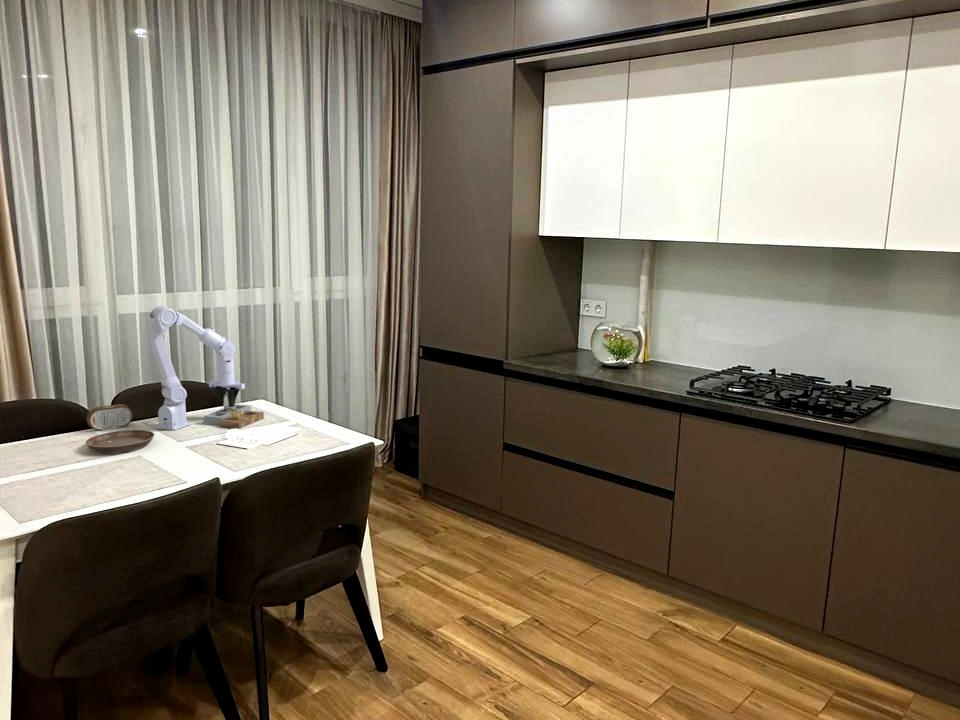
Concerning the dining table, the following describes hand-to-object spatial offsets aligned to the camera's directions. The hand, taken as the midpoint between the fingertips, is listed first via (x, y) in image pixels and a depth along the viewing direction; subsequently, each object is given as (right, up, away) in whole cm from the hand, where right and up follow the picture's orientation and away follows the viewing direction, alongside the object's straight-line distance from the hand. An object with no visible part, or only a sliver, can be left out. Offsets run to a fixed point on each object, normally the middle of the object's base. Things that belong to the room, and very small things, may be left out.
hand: (227, 406), depth 280 cm
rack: (0, -5, +1) cm, 5 cm away
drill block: (+7, -6, -5) cm, 11 cm away
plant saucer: (-23, -11, -37) cm, 45 cm away
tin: (-37, -7, -15) cm, 41 cm away
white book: (+20, -10, -23) cm, 32 cm away
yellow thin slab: (+6, -6, -9) cm, 13 cm away
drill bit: (0, -3, +1) cm, 3 cm away
